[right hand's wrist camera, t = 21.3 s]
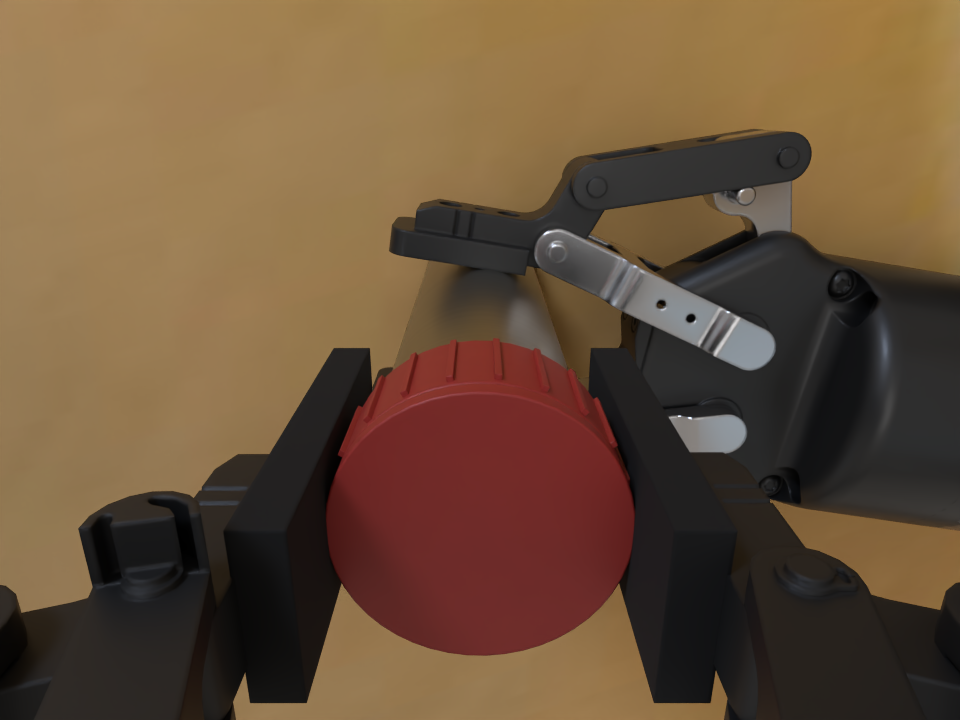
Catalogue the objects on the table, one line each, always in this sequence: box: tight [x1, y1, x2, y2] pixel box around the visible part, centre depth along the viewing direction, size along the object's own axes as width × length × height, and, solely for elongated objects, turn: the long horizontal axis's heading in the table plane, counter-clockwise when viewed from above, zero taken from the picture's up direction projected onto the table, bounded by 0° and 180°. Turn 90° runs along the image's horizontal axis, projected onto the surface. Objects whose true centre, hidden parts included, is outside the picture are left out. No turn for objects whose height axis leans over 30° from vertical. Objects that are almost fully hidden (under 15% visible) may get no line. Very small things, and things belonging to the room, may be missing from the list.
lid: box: [326, 338, 635, 656], centre depth 11 cm, size 5×5×2 cm
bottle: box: [392, 260, 568, 371], centre depth 18 cm, size 4×4×16 cm
